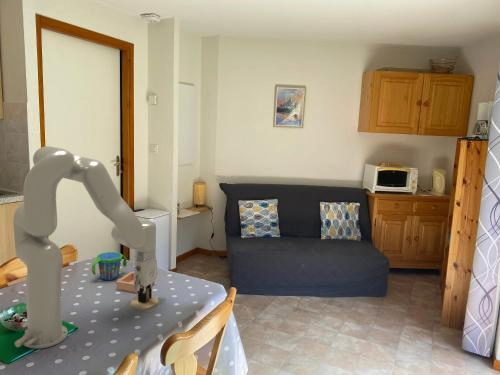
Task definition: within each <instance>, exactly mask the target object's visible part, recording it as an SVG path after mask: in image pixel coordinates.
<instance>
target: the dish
mask: <svg viewBox="0 0 500 375" xmlns="http://www.w3.org/2000/svg"><path fill="white" fill-rule="evenodd" d="M140 284H141V283H140ZM155 284H156V280H155V281H153V283H152V286H154V285H155ZM134 288H135V285H134V271H131V272H129V273H127V274H125V275H124V276H123V277H121V278H119V279H118V280H116V281H115V290H116V291H119V292H120V291H121V292H125V293H131V294H136V295H138V292H137V291H136V290H134ZM140 288H143V287H140Z"/></svg>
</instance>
